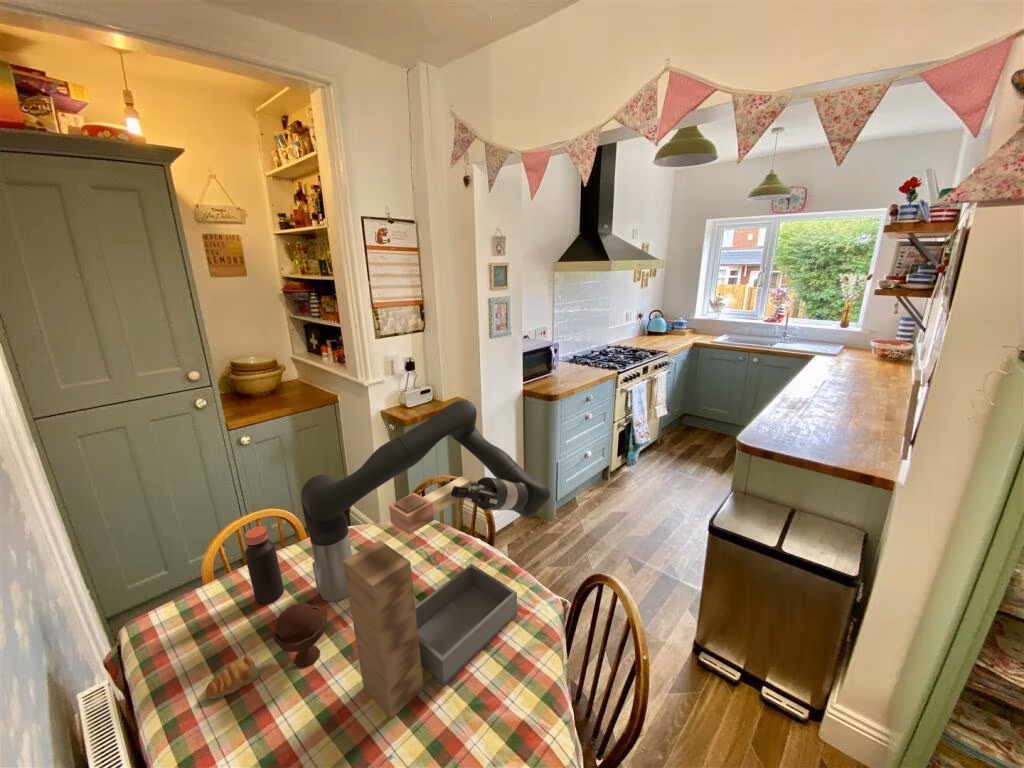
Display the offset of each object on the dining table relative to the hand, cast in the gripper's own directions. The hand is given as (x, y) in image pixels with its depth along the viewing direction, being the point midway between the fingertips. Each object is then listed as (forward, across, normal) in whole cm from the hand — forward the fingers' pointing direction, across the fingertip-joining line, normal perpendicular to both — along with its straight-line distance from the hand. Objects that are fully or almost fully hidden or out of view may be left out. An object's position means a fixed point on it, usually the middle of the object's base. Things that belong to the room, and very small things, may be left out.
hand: (447, 488), depth 91 cm
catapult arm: (+2, 0, +4) cm, 5 cm away
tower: (-3, 0, +43) cm, 43 cm away
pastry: (+14, -28, +54) cm, 62 cm away
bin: (-20, 0, +33) cm, 39 cm away
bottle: (+2, -48, +46) cm, 66 cm away
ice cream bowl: (+4, -21, +47) cm, 52 cm away
